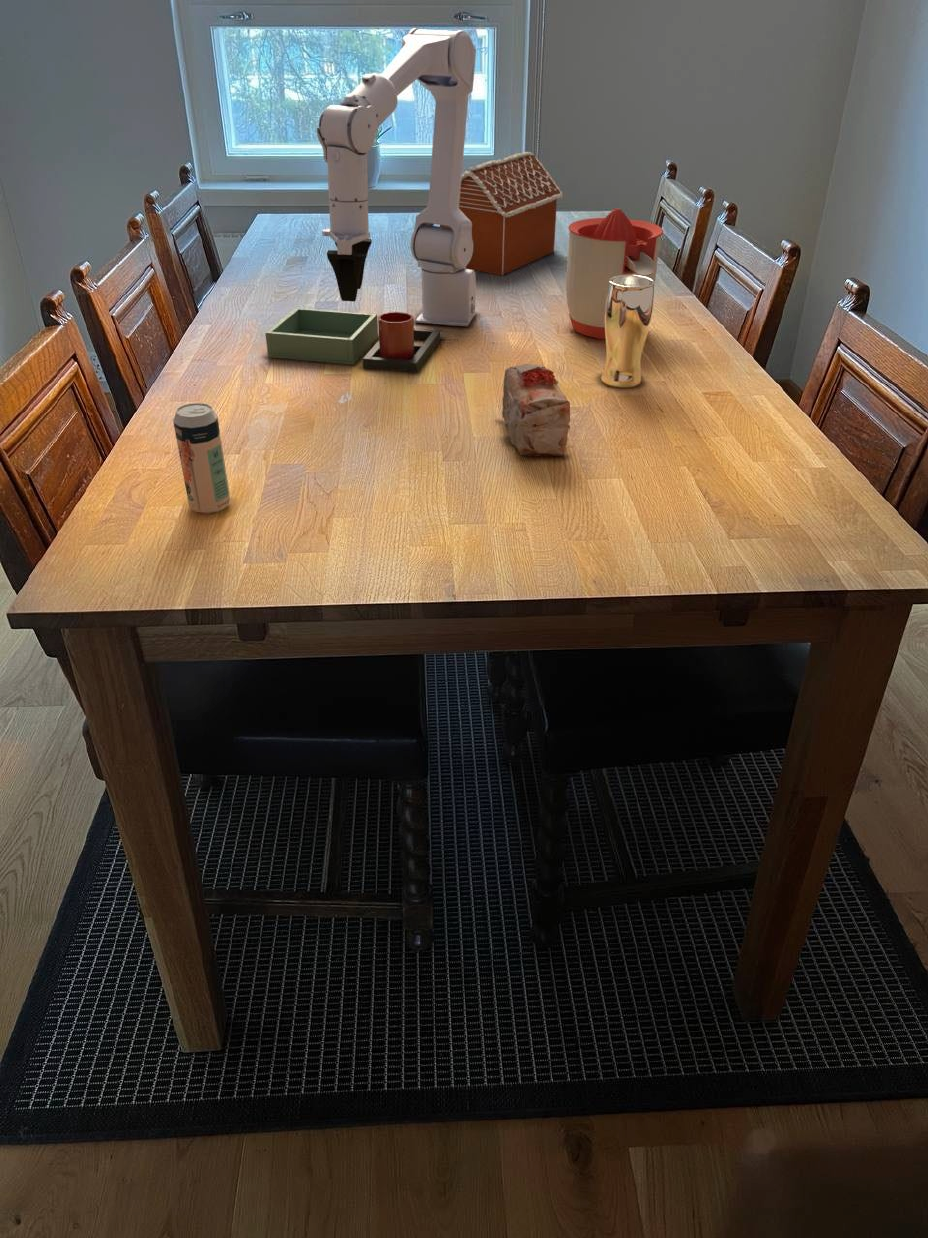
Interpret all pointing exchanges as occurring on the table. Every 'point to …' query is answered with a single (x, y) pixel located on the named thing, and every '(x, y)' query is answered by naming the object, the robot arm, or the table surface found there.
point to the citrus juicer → (605, 264)
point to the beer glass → (626, 328)
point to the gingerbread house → (509, 212)
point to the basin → (322, 336)
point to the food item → (535, 411)
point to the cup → (396, 335)
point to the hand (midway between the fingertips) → (351, 294)
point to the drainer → (412, 365)
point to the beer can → (202, 457)
